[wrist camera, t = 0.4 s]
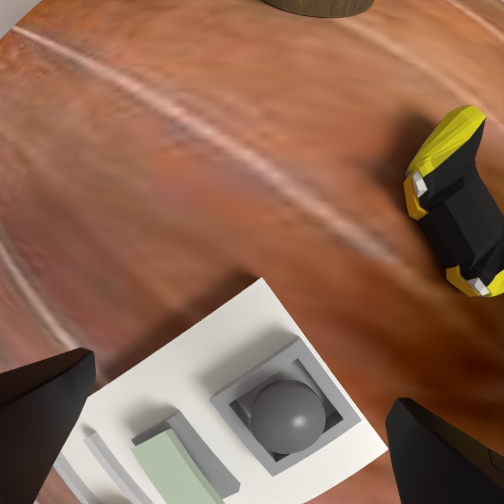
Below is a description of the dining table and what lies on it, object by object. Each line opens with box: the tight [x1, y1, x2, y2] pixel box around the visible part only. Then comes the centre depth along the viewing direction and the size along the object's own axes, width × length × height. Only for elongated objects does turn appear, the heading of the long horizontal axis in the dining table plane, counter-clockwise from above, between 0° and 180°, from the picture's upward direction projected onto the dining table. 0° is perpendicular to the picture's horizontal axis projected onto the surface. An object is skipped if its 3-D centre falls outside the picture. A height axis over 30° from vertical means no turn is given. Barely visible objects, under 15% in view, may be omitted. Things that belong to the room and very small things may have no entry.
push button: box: [250, 379, 326, 454], centre depth 16 cm, size 4×4×2 cm
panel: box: [53, 278, 388, 504], centre depth 18 cm, size 15×23×4 cm, turn 126°
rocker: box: [131, 429, 225, 504], centre depth 15 cm, size 6×3×1 cm, turn 35°
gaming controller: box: [403, 105, 504, 297], centre depth 19 cm, size 15×6×10 cm
